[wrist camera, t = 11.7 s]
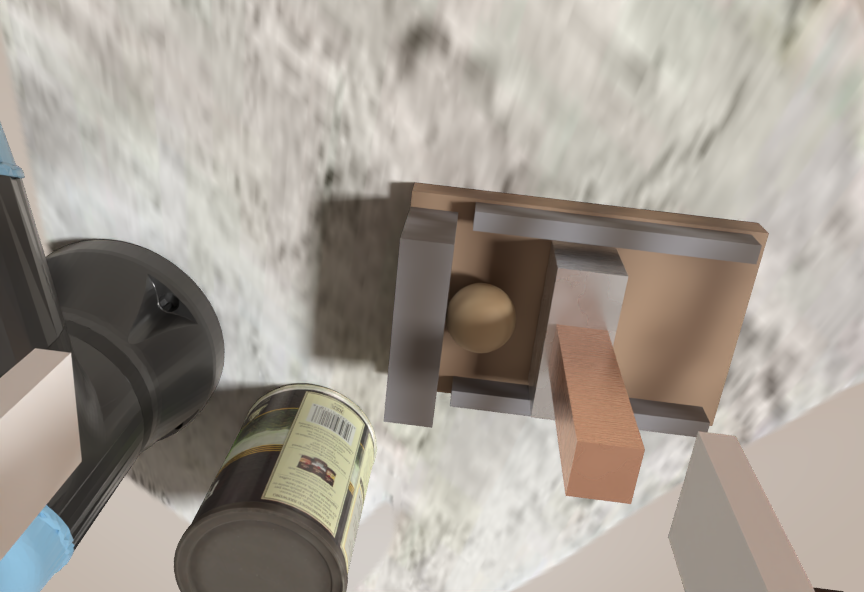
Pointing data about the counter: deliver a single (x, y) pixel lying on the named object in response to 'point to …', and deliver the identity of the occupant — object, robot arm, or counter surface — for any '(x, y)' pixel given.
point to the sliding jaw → (585, 373)
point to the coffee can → (283, 499)
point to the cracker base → (522, 294)
